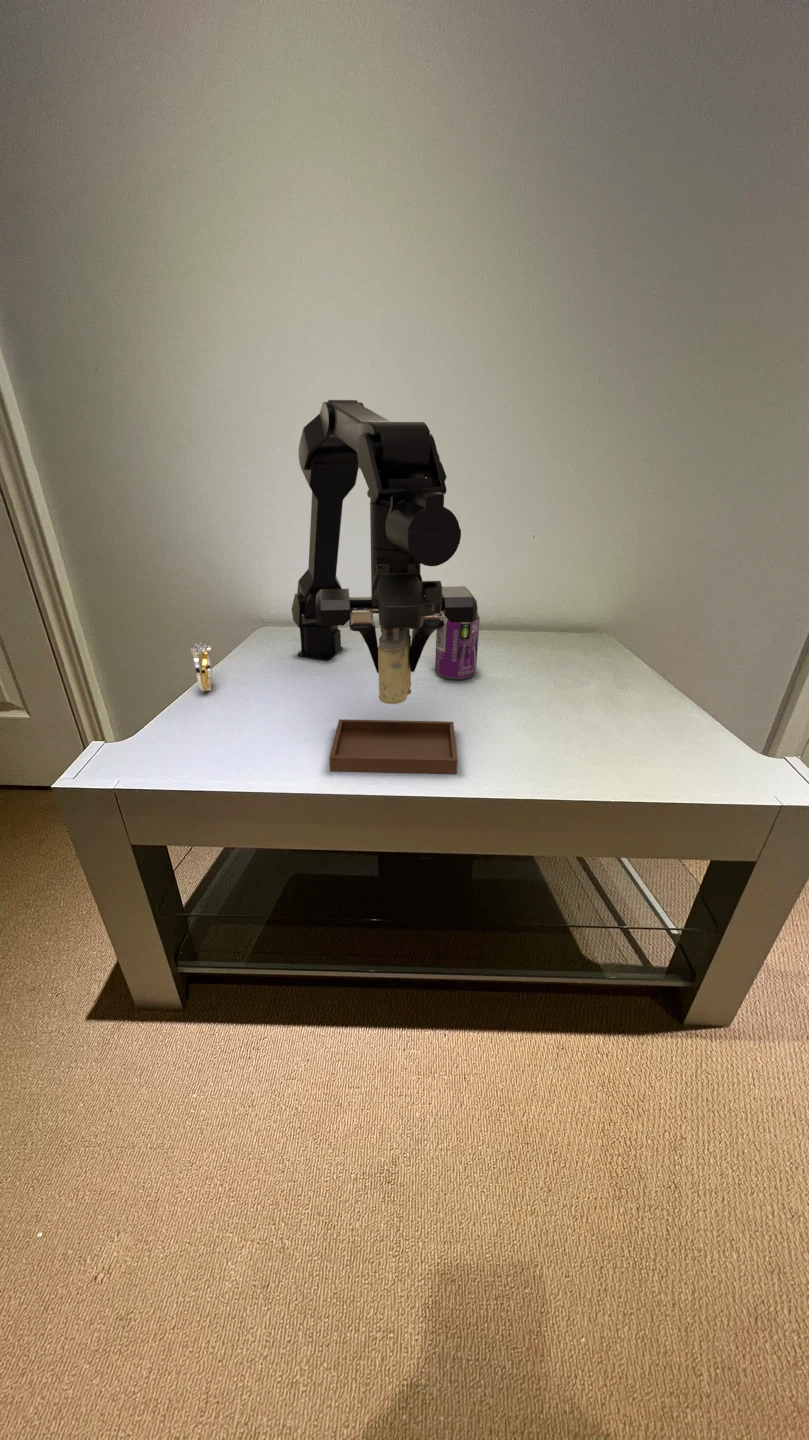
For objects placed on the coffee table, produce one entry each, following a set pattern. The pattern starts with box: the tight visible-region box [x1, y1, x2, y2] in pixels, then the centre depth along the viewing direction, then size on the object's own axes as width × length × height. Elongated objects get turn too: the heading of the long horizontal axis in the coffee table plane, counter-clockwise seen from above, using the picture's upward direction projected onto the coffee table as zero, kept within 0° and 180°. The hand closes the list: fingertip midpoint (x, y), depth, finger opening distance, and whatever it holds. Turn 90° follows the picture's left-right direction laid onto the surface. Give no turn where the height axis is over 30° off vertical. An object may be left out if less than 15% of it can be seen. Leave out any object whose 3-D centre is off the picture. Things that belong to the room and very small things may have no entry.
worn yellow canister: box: [378, 626, 412, 705], centre depth 73 cm, size 7×4×10 cm, turn 170°
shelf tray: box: [329, 718, 458, 775], centre depth 80 cm, size 16×10×2 cm, turn 89°
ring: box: [190, 641, 213, 692], centre depth 94 cm, size 7×3×8 cm, turn 5°
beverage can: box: [434, 606, 481, 680], centre depth 100 cm, size 7×7×12 cm
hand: (395, 671), depth 75 cm, fingers closed on worn yellow canister, 4 cm apart
